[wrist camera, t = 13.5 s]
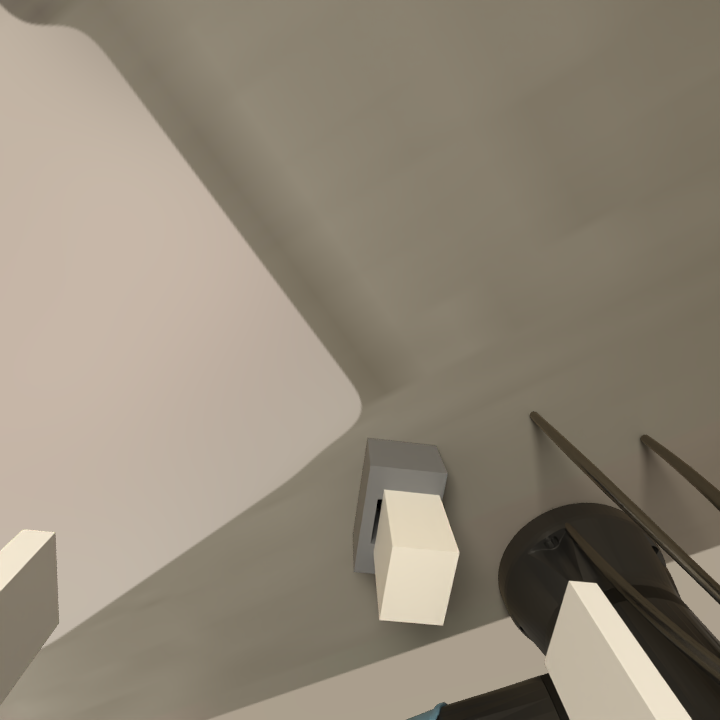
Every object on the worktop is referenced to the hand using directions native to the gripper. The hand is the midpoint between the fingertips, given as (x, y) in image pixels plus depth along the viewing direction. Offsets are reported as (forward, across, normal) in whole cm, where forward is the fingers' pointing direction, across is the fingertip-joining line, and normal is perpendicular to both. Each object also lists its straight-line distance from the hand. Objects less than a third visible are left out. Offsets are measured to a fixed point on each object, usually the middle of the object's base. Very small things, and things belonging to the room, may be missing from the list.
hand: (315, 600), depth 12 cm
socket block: (+29, -7, +14) cm, 32 cm away
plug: (+28, -8, +14) cm, 32 cm away
